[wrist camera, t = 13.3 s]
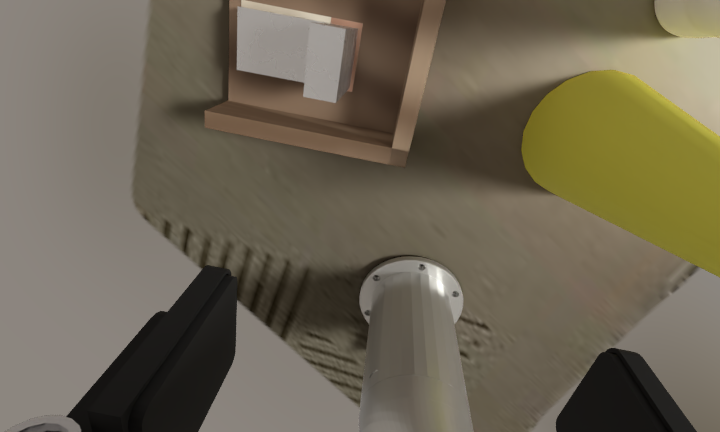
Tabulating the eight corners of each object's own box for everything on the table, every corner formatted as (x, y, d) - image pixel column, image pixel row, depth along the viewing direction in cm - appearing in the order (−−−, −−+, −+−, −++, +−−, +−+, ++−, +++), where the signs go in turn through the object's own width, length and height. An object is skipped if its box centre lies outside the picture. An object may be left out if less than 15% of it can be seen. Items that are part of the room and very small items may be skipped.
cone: (688, 133, 35) (1188, 319, 13) (572, 218, 40) (787, 460, 18) (608, 37, 32) (1070, 63, 10) (494, 142, 37) (633, 315, 15)
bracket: (358, 28, 33) (345, 29, 26) (349, 87, 35) (335, 103, 28) (246, 7, 33) (203, 1, 26) (245, 67, 35) (204, 77, 28)
